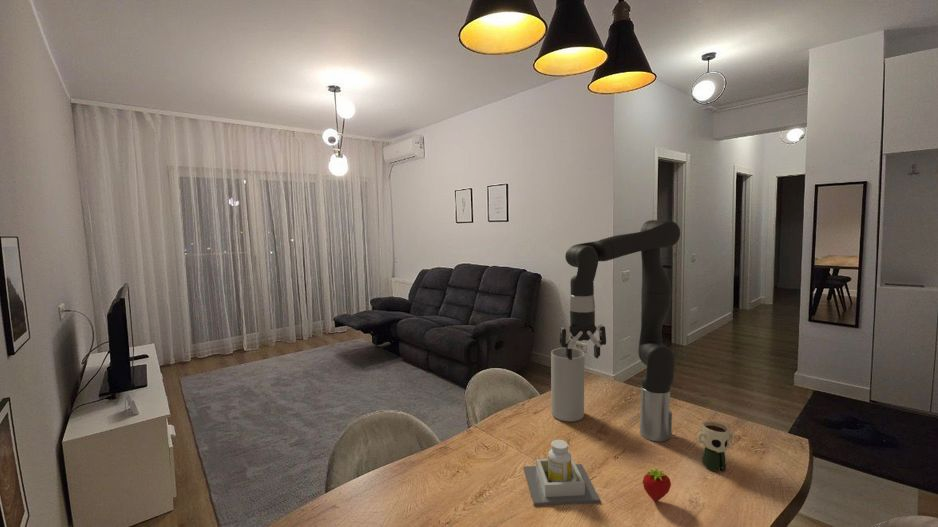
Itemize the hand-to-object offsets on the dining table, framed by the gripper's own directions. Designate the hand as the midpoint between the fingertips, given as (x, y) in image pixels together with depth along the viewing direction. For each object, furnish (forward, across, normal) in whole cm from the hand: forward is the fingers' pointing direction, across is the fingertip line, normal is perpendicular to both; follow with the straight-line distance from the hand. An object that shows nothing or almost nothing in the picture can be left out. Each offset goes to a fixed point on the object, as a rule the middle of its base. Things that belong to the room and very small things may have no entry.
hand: (583, 358), depth 128 cm
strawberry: (+32, -12, +24) cm, 42 cm away
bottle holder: (+32, +12, +15) cm, 37 cm away
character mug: (+33, -37, +11) cm, 50 cm away
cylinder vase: (+32, -2, -26) cm, 42 cm away
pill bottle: (+31, +12, +15) cm, 37 cm away
